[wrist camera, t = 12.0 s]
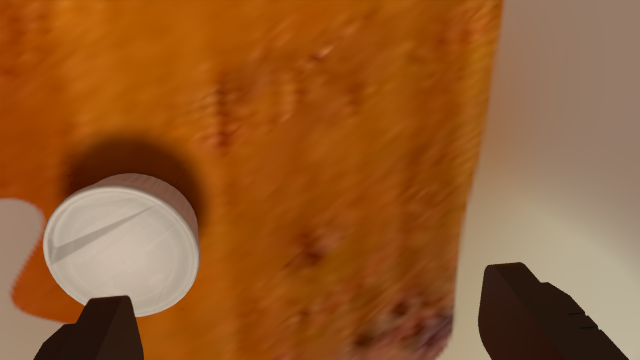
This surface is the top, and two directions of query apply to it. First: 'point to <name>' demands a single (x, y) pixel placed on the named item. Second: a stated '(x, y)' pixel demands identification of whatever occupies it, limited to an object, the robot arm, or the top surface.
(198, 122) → the top surface
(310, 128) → the top surface
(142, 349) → the robot arm
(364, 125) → the top surface
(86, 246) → the ramekin
